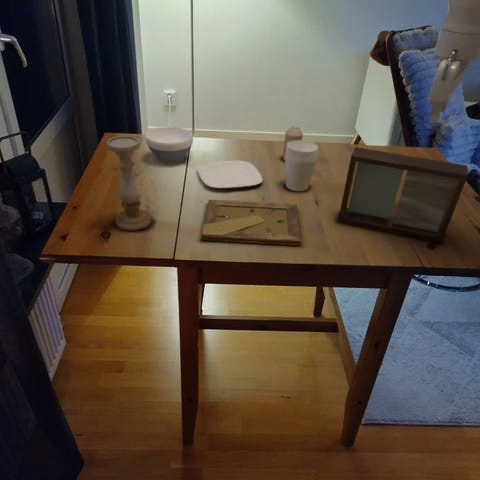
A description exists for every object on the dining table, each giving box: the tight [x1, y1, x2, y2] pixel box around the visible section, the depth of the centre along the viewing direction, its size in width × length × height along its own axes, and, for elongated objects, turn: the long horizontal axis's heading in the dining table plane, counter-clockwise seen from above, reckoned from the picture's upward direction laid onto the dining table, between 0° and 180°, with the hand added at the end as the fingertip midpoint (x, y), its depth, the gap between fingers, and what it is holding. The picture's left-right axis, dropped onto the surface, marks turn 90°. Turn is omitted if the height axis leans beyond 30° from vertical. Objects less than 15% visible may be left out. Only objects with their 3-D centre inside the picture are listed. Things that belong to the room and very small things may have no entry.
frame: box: [337, 146, 469, 244], centre depth 114 cm, size 6×26×18 cm, turn 70°
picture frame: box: [201, 199, 302, 246], centre depth 117 cm, size 19×2×24 cm
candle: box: [282, 126, 304, 162], centre depth 147 cm, size 6×6×10 cm
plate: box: [196, 160, 264, 190], centre depth 137 cm, size 18×18×2 cm
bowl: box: [145, 126, 194, 165], centre depth 145 cm, size 14×14×8 cm
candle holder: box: [105, 135, 152, 232], centre depth 109 cm, size 9×9×20 cm
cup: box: [284, 139, 319, 192], centre depth 132 cm, size 9×9×12 cm
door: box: [347, 162, 405, 219], centre depth 117 cm, size 4×11×14 cm, turn 70°
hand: (436, 116), depth 105 cm, fingers open, 8 cm apart
